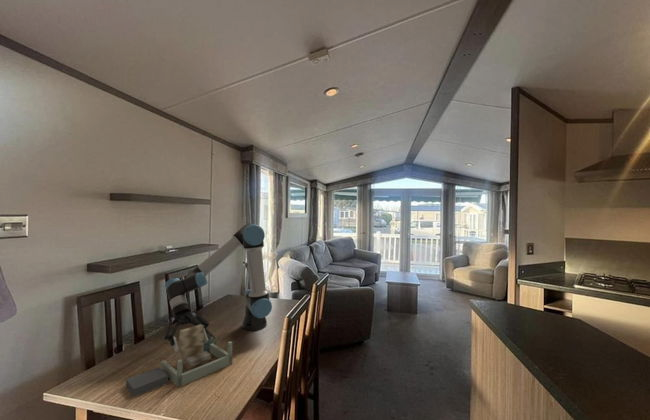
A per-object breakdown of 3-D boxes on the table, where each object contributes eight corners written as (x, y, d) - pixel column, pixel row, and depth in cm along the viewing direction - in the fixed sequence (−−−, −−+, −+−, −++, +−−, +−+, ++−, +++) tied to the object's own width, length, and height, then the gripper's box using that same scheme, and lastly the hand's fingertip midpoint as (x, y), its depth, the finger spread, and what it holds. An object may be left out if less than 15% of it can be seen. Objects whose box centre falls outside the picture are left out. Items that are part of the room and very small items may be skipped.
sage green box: (212, 351, 143) (212, 331, 143) (232, 363, 131) (232, 342, 131) (160, 370, 125) (161, 347, 125) (178, 387, 113) (178, 361, 113)
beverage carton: (200, 354, 140) (201, 340, 140) (189, 341, 155) (189, 329, 155) (216, 349, 145) (217, 336, 146) (204, 337, 160) (204, 325, 160)
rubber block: (158, 374, 122) (158, 367, 122) (167, 383, 115) (167, 375, 115) (125, 386, 113) (126, 379, 113) (133, 397, 106) (133, 389, 106)
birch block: (200, 357, 137) (200, 324, 137) (203, 359, 135) (203, 325, 135) (178, 365, 129) (179, 330, 129) (181, 367, 127) (182, 332, 127)
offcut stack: (206, 363, 131) (206, 350, 131) (212, 367, 127) (213, 354, 128) (182, 372, 123) (182, 358, 123) (188, 377, 119) (188, 363, 119)
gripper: (201, 305, 152) (215, 341, 142) (150, 317, 133) (161, 360, 123) (206, 297, 149) (220, 333, 139) (154, 308, 130) (165, 351, 120)
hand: (192, 346), depth 131 cm, fingers open, 13 cm apart
